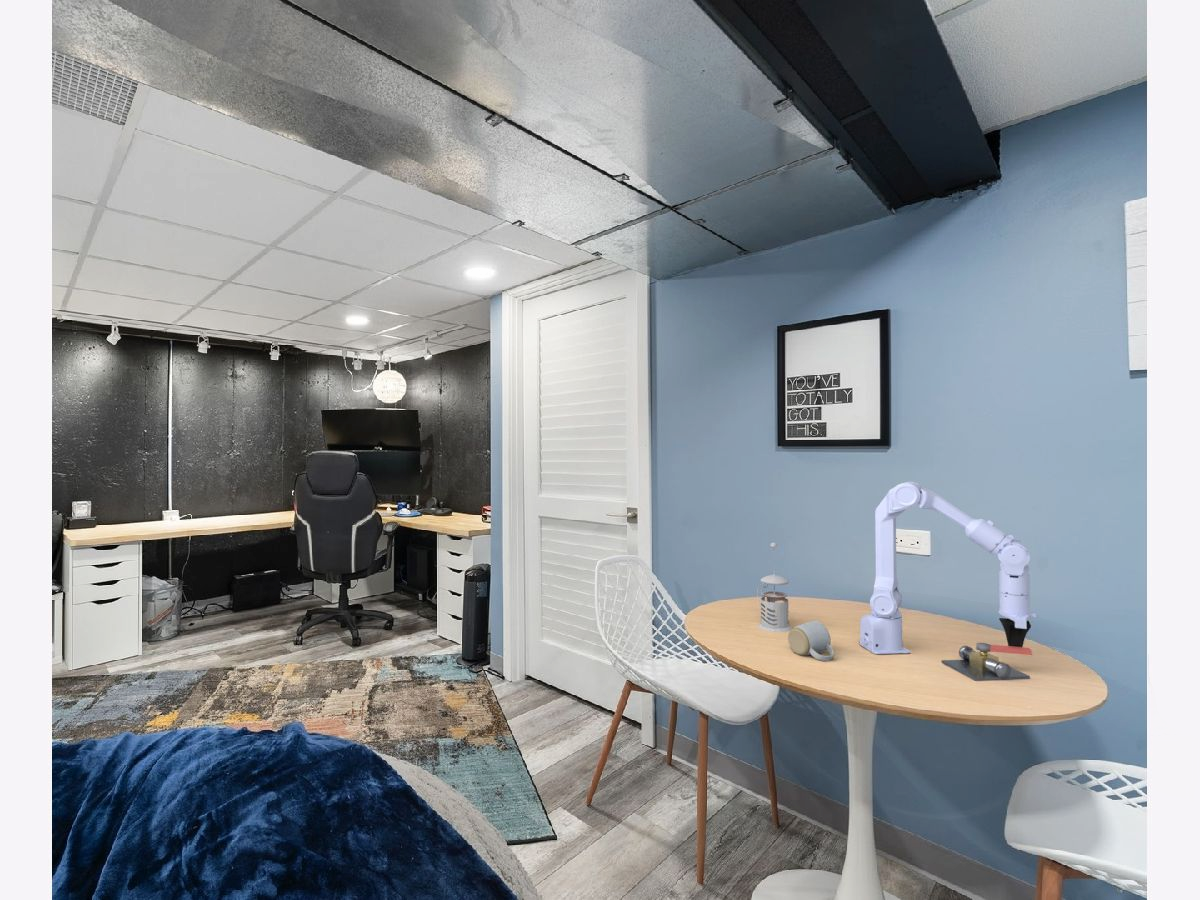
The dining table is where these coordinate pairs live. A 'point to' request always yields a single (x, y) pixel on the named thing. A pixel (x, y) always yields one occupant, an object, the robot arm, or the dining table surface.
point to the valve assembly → (983, 666)
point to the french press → (774, 605)
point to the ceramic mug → (811, 640)
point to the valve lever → (1003, 649)
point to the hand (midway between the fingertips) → (1015, 651)
